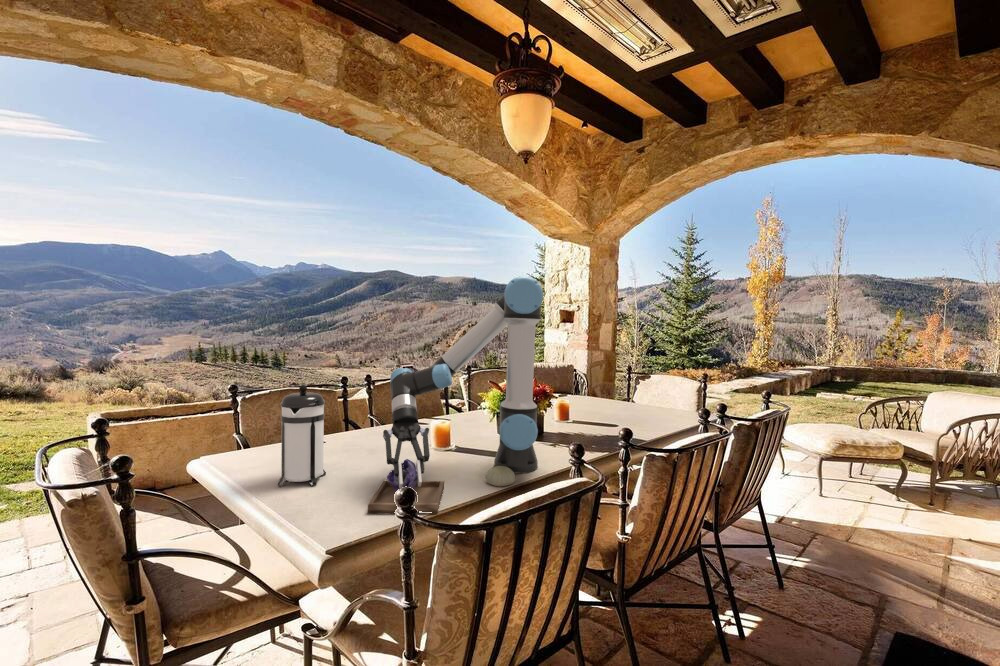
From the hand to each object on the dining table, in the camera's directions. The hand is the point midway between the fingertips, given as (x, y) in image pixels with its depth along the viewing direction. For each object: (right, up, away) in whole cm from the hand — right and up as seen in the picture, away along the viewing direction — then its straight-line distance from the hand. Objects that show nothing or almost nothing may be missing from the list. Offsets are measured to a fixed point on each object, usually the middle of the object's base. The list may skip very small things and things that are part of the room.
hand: (410, 484), depth 124 cm
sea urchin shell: (+24, -6, +19) cm, 32 cm away
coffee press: (-38, -5, +20) cm, 43 cm away
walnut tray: (-1, -6, +4) cm, 7 cm away
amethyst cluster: (-2, -4, +6) cm, 7 cm away
